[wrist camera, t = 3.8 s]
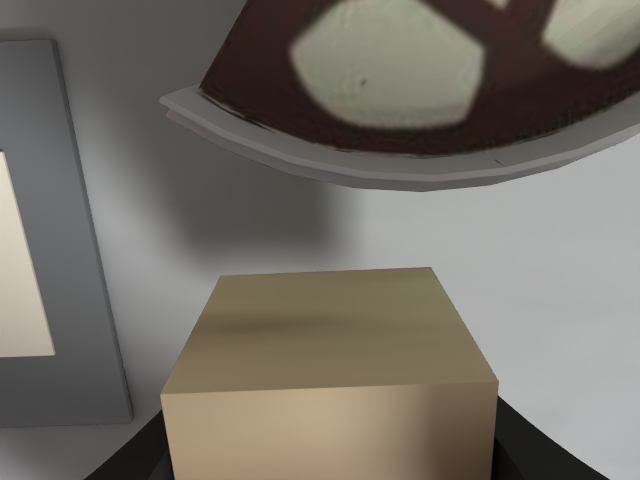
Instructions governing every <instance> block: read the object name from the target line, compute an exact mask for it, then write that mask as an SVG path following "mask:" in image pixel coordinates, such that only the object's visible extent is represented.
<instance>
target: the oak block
mask: <svg viewBox="0 0 640 480" xmlns="http://www.w3.org/2000/svg"><path fill="white" fill-rule="evenodd" d="M498 384H499V381H498V379H497V378H496V376H495V374H494V373H493V371H492V369H491V368H490V366H489V364H488V362H487V361H486V359H485V357H484V356H483V354H482V352H481V351H480V349H479V347H478V346H477V344H476V342H475V341H474V339H473V337H472V336H471V334H470V332H469V331H468V329H467V327H466V325H465V324H464V322H463V320H462V319H461V317H460V315H459V314H458V312H457V310H456V309H455V307H454V305H453V304H452V302H451V300H450V299H449V297H448V295H447V294H446V292H445V290H444V288H443V287H442V285H441V283H440V282H439V280H438V278H437V277H436V275H435V273H434V272H433V270H432V268H431V267H420V268H396V269H372V270H348V271H324V272H301V273H277V274H253V275H229V276H220V278H219V280H218V282H217V284H216V286H215V288H214V290H213V292H212V294H211V296H210V298H209V300H208V302H207V303H206V305H205V307H204V309H203V311H202V313H201V315H200V317H199V319H198V321H197V323H196V325H195V327H194V329H193V331H192V333H191V335H190V337H189V338H188V340H187V342H186V344H185V346H184V348H183V350H182V352H181V354H180V356H179V358H178V360H177V362H176V364H175V366H174V368H173V370H172V372H171V373H170V375H169V377H168V379H167V381H166V383H165V385H164V387H163V389H162V391H161V393H160V398H161V404H162V409H163V415H164V421H165V426H166V432H167V437H168V443H169V449H170V454H171V460H172V465H173V471H174V477H175V480H490V479H491V467H492V455H493V443H494V431H495V420H496V408H497V396H498Z"/></svg>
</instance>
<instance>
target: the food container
mask: <svg viewBox="0 0 640 480" xmlns="http://www.w3.org/2000/svg"><path fill="white" fill-rule="evenodd" d="M158 102H159V103H161V104H163V105H165V106H166V107H168V108H169V110H168V111H167V113H166V115H165V117H167V118H169V119H170V120H172V121H174V122H176V123H178V124H179V125H181V126H183V127H185V128H187V129H188V130H190V131H192V132H194V133H195V134H197V135H199V136H201V137H203V138H204V139H206V140H208V141H210V142H212V143H213V144H215V145H217V146H219V147H221V148H222V149H224V150H227V151H230V152H232V153H235V154H238V155H240V156H243V157H245V158H248V159H251V160H253V161H256V162H258V163H261V164H264V165H266V166H269V167H272V168H274V169H277V170H279V171H282V172H285V173H287V174H291V175H296V176H300V177H305V178H310V179H314V180H319V181H324V182H328V183H333V184H338V185H342V186H347V187H352V188H361V189H379V190H396V191H414V192H426V191H436V190H447V189H457V188H467V187H478V186H488V185H493V184H497V183H501V182H505V181H509V180H513V179H517V178H521V177H525V176H529V175H533V174H537V173H541V172H545V171H549V170H553V169H557V168H560V167H562V166H565V165H567V164H569V163H572V162H574V161H577V160H579V159H582V158H584V157H587V156H589V155H592V154H594V153H596V152H599V151H601V150H604V149H606V148H609V147H611V146H614V145H616V144H619V143H621V142H623V141H626V140H628V139H629V138H631V137H633V136H635V135H636V134H638V133H640V0H248V1H247V3H246V4H245V6H244V8H243V10H242V11H241V13H240V15H239V17H238V19H237V20H236V22H235V24H234V26H233V27H232V29H231V31H230V33H229V35H228V36H227V38H226V40H225V42H224V43H223V45H222V47H221V49H220V51H219V52H218V54H217V56H216V58H215V59H214V61H213V63H212V65H211V67H210V68H209V70H208V72H207V74H206V75H205V77H204V79H203V81H202V82H199V83H196V84H193V85H191V86H188V87H185V88H182V89H179V90H177V91H174V92H171V93H168V94H165V95H163V96H161V98H160V99H159V101H158Z"/></svg>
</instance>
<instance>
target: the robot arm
mask: <svg viewBox="0 0 640 480" xmlns="http://www.w3.org/2000/svg"><path fill="white" fill-rule="evenodd" d="M84 480H175V477H174V471H173V465H172V460H171V454H170V449H169V443H168V437H167V432H166V426H165V421H164V415H163V409H162V410H161V411H160V412H159V413H158V414H157V415H156V416H155V417H154V418H153V419H152V420H151V421H149V422H148V423H147V424H146V425H145V426H144V427H143V428H142V429H141V430H140V431H139V432H138V433H137V434H136V435H135V436H134V437H133V438H132V439H131V440H129V441H128V442H127V443H126V444H125V445H124V446H123V447H122V448H120V449H119V450H118V451H117V452H116V453H115V454H114V455H112V456H111V457H110V458H109V459H108V460H107V461H106V462H105V463H103V464H102V465H101V466H100V467H99V468H98V469H96V470H95V471H94V472H93V473H92V474H90V475H89V476H88V477H86V478H85V479H84ZM490 480H610V479H608V478H606V477H605V476H603V475H602V474H600V473H599V472H597V471H596V470H594V469H592V468H591V467H589V466H588V465H586V464H585V463H583V462H582V461H580V460H579V459H578V458H576V457H575V456H573V455H572V454H571V453H569V452H568V451H566V450H565V449H564V448H562V447H561V446H560V445H558V444H557V443H556V442H554V441H553V440H552V439H550V438H549V437H548V436H546V435H545V434H544V433H543V432H541V431H540V430H539V429H537V428H536V427H535V426H534V425H532V424H531V423H530V422H529V421H527V420H526V419H525V418H524V417H523V416H521V415H520V414H519V413H518V412H517V411H516V410H514V409H513V408H512V407H511V406H510V405H508V404H507V403H506V402H505V401H504V400H503V399H502V398H500V397H499V396H497V408H496V420H495V431H494V443H493V455H492V467H491V479H490Z"/></svg>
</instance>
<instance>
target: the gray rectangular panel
mask: <svg viewBox="0 0 640 480" xmlns="http://www.w3.org/2000/svg"><path fill="white" fill-rule="evenodd" d="M132 420H133V413H132V408H131V404H130V399H129V394H128V389H127V384H126V379H125V375H124V370H123V365H122V360H121V355H120V350H119V346H118V341H117V336H116V331H115V326H114V321H113V316H112V312H111V307H110V302H109V297H108V292H107V287H106V283H105V278H104V273H103V268H102V263H101V258H100V254H99V249H98V244H97V239H96V234H95V229H94V225H93V220H92V215H91V210H90V205H89V200H88V196H87V191H86V186H85V181H84V176H83V171H82V167H81V162H80V157H79V152H78V147H77V142H76V137H75V133H74V128H73V123H72V118H71V113H70V108H69V104H68V99H67V94H66V89H65V84H64V79H63V75H62V70H61V65H60V60H59V55H58V50H57V46H56V41H55V40H53V39H43V40H23V41H2V42H0V428H12V427H41V426H70V425H98V424H127V423H131V422H132Z"/></svg>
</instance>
